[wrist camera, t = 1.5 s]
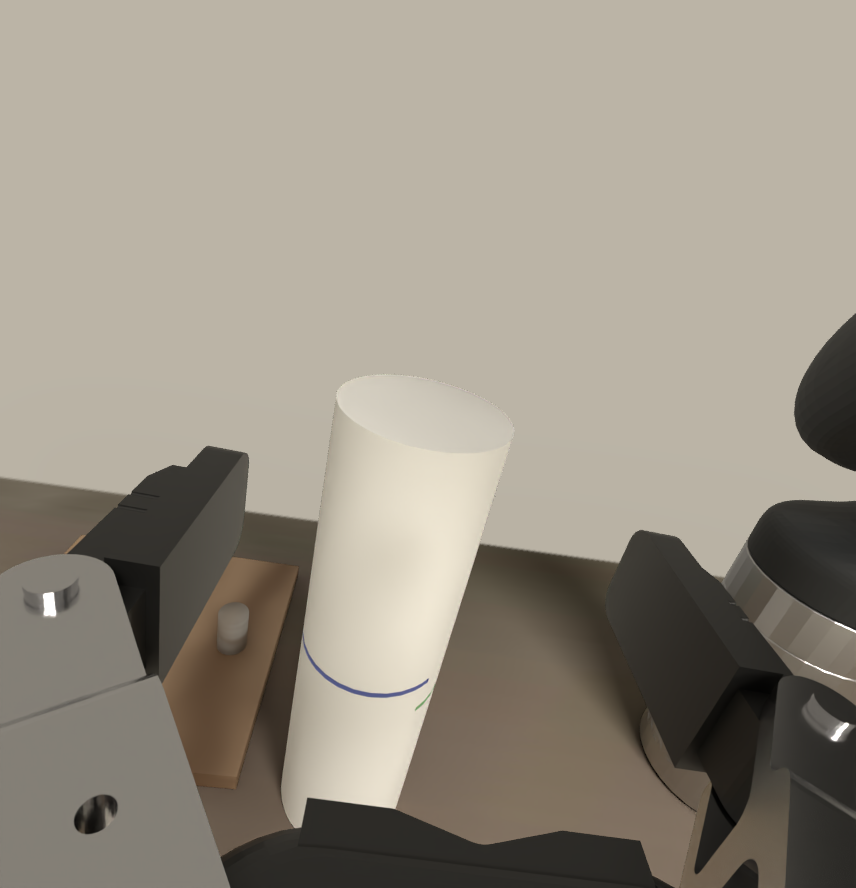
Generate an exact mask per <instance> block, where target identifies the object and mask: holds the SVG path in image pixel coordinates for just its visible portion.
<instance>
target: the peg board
mask: <svg viewBox="0 0 856 888" xmlns="http://www.w3.org/2000/svg"><path fill="white" fill-rule="evenodd" d="M84 537H85V535H81V536H80V537H79V538H78V539H77V541H76V542H75V543H74V544H73V545H72V546H71V547H70V548H69V549H68V550H67V551H66V552H65V553H64V554H67V553H68V552H69V551H70V550H71V549H72V548H74V547H75V546H76V545H77V544H78V543H79V542H80V541H81V540H82V539H83V538H84ZM298 569H299V566H293V565H286V564H279V563H272V562H265V561H258V560H251V559H244V558H237V557H232V558H231V560H230V562H229V564H228V565H227V567H226V569H225V571H224V573H223V574H222V576H221V578H220V580H219V582H218V583H217V585H216V587H215V589H214V591H213V592H212V594H211V596H210V598H209V600H208V602H207V603H206V605H205V607H204V609H203V611H202V612H201V614H200V616H199V618H198V620H197V621H196V623H195V625H194V627H193V629H192V630H191V632H190V634H189V636H188V638H187V640H186V641H185V643H184V645H183V647H182V649H181V650H180V652H179V654H178V656H177V658H176V659H175V661H174V663H173V665H172V667H171V669H170V670H169V672H168V674H167V676H166V678H165V679H164V681H163V683H162V686H163V688H164V691H165V694H166V697H167V700H168V703H169V706H170V709H171V712H172V715H173V718H174V721H175V724H176V727H177V730H178V733H179V736H180V739H181V742H182V745H183V748H184V751H185V754H186V757H187V760H188V763H189V766H190V769H191V772H192V775H193V777H194V780H195V783H196V786H206V787H217V788H227V789H236V787H237V784H238V780H239V777H240V773H241V770H242V766H243V763H244V760H245V756H246V753H247V749H248V746H249V742H250V739H251V735H252V732H253V729H254V725H255V722H256V718H257V715H258V711H259V708H260V704H261V701H262V698H263V694H264V691H265V687H266V684H267V680H268V677H269V673H270V670H271V666H272V663H273V660H274V656H275V653H276V649H277V646H278V642H279V639H280V635H281V632H282V629H283V625H284V622H285V618H286V615H287V611H288V608H289V604H290V601H291V598H292V594H293V591H294V587H295V584H296V580H297V577H298Z"/></svg>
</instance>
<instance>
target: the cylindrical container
mask: <svg viewBox="0 0 856 888" xmlns="http://www.w3.org/2000/svg"><path fill="white" fill-rule="evenodd" d="M513 436H514V426H513V424H512V422H511V420H510V419H509V417H508V416H507V415H506V414H505V413H504V412H503V411H502V410H501V409H499V408H498V407H497V406H495V405H494V404H492V403H491V402H489V401H487V400H486V399H484V398H482V397H480V396H478V395H476V394H474V393H472V392H469V391H466V390H464V389H461V388H459V387H456V386H453V385H450V384H446V383H443V382H439V381H435V380H430V379H426V378H420V377H414V376H406V375H392V374H391V375H390V374H386V375H385V374H381V375H369V376H363V377H358V378H355V379H352V380H349V381H348V382H346V383H345V384H343V385H341V387H340V388H339V390H338V391H337V395H336V402H335V410H334V416H333V423H332V431H331V437H330V444H329V451H328V458H327V466H326V472H325V479H324V486H323V493H322V500H321V506H320V513H319V520H318V528H317V535H316V542H315V549H314V556H313V563H312V570H311V577H310V585H309V592H308V599H307V606H306V613H305V620H304V627H303V634H302V641H301V648H300V655H299V662H298V669H297V676H296V683H295V690H294V697H293V704H292V711H291V718H290V725H289V732H288V739H287V746H286V754H285V761H284V768H283V775H282V783H281V796H282V803H283V807H284V810H285V813H286V815H287V817H288V819H289V821H290V823H291V824H292V825H293V827H294V828H299V827H301V826H302V821H303V816H304V811H305V806H306V802H307V797H308V798H316V799H324V800H331V801H339V802H346V803H354V804H362V805H369V806H377V807H385V808H392V809H395V808H396V805H397V802H398V799H399V796H400V793H401V790H402V787H403V783H404V780H405V777H406V774H407V771H408V768H409V765H410V762H411V758H412V755H413V752H414V749H415V746H416V743H417V740H418V736H419V733H420V730H421V727H422V724H423V721H424V718H425V714H426V711H427V708H428V705H429V702H430V699H431V696H432V692H433V689H434V686H435V683H436V680H437V677H438V674H439V670H440V667H441V664H442V661H443V658H444V655H445V651H446V648H447V645H448V642H449V639H450V636H451V632H452V629H453V626H454V623H455V620H456V617H457V613H458V610H459V607H460V604H461V601H462V598H463V594H464V591H465V588H466V585H467V582H468V579H469V575H470V572H471V569H472V566H473V563H474V559H475V556H476V553H477V550H478V547H479V544H480V540H481V537H482V534H483V531H484V528H485V525H486V521H487V518H488V515H489V512H490V509H491V505H492V502H493V499H494V496H495V492H496V490H497V487H498V483H499V480H500V477H501V474H502V471H503V468H504V464H505V461H506V458H507V454H508V452H509V449H510V445H511V442H512V439H513Z"/></svg>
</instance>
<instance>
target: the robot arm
mask: <svg viewBox="0 0 856 888" xmlns="http://www.w3.org/2000/svg"><path fill="white" fill-rule="evenodd" d="M794 415H795V422H796V427H797V429H798V431H799V434H800V436H801V438H802V439H803V440H804V442H805V443H806V444H807V445H808V446H809V447H810V448H811V449H812V450H813V451H815V452H817V453H818V454H820V455H822V456H823V457H825V458H826V459H828V460H830V461H832V462H833V463H835V464H838V465H840V466H842V467H844V468H847V469H850V470H853V471H856V314H855V315H853V316H852V317H851V318H850V319H849V320H848V321H847V322H846V323H845V324H844V325H843V326H842V327H841V328H840V329H839V330H838V331H837V332H836V333H835V334H834V335H833V336H832V337H831V338H830V339H829V340H828V341H827V342H826V344H825V345H824V346H823V348H822V349H821V350H820V352H819V353H818V354H817V355H816V357H815V358H814V360H813V362H812V363H811V365H810V366H809V368H808V370H807V371H806V373H805V375H804V377H803V379H802V381H801V383H800V386H799V388H798V392H797V395H796V400H795V411H794ZM248 468H249V457H248V454H247V453H243V452H238V451H233V450H227V449H223V448H217V447H212V446H206V447H205V448H204V449H203V450H202V451H201V452H200V453H199V454H198V455H197V457H196V458H195V459H194V460H193V461H192V462H191V463H190V464H189V465H188V466H187V467H181V466H175V465H172V466H169V467H167V468H165V469H162V470H160V471H158V472H155V473H153V474H151V475H149V476H147V477H146V478H145V479H144V480H143V481H142V482H141V483H140V484H139V485H138V486H137V487H136V488H135V489H134V490H133V491H132V493H131V495H129V494H128V495H127V496H126V497H125V498H124V499H123V500H122V501H121V502H120V503H119V504H118V507H117V508H114V509H113V510H112V511H111V512H110V513H109V514H108V515H107V516H106V517H105V518H104V519H103V520H102V521H100V522H99V523H98V524H97V525H96V526H95V527H94V528H93V529H92V530H91V531H90V532H89V533H88V534H87V535H86V536H85V537H84V538H83V539H82V540H81V541H80V542H79V543H78V544H77V545H76V546H75V547H74V548H72V549H71V550H70V551H69V552H68V553H67V554H61V555H51V556H45V557H41V558H36V559H33V560H30V561H27V562H24V563H21V564H19V565H16V566H14V567H12V568H10V569H8V570H7V571H5V572H3V573H2V574H0V888H674V887H672V886H670V885H669V884H667V883H665V882H663V881H661V880H660V879H658V878H656V877H654V876H652V874H651V871H650V868H649V865H648V863H647V860H646V857H645V854H644V851H643V848H642V845H641V842H640V841H636V840H629V839H621V838H613V837H606V836H598V835H591V834H583V833H575V832H568V831H558V832H553V833H548V834H543V835H537V836H532V837H527V838H521V839H516V840H511V841H506V842H500V843H495V844H489V845H481V844H476V843H473V842H471V841H468V840H466V839H463V838H461V837H459V836H456V835H454V834H452V833H449V832H447V831H445V830H442V829H440V828H438V827H435V826H433V825H431V824H428V823H426V822H423V821H421V820H419V819H416V818H414V817H412V816H409V815H407V814H405V813H402V812H400V811H398V810H395V809H392V808H385V807H377V806H369V805H362V804H354V803H346V802H339V801H331V800H324V799H316V798H308V797H307V802H306V806H305V811H304V816H303V821H302V826H301V827H299V828H294V829H288V830H283V831H279V832H276V833H272V834H269V835H266V836H263V837H260V838H257V839H255V840H253V841H250V842H248V843H246V844H244V845H241V846H239V847H237V848H235V849H233V850H232V851H230V852H228V853H227V854H225V855H223V856H222V857H220V855H219V852H218V849H217V846H216V843H215V840H214V837H213V834H212V831H211V828H210V825H209V822H208V819H207V816H206V813H205V810H204V807H203V804H202V801H201V798H200V795H199V792H198V789H197V786H196V783H195V780H194V777H193V775H192V772H191V769H190V766H189V763H188V760H187V757H186V754H185V751H184V748H183V745H182V742H181V739H180V736H179V733H178V730H177V727H176V724H175V721H174V718H173V715H172V712H171V709H170V706H169V703H168V700H167V697H166V694H165V691H164V688H163V686H162V683H163V681H164V679H165V678H166V676H167V674H168V672H169V670H170V669H171V667H172V665H173V663H174V661H175V659H176V658H177V656H178V654H179V652H180V650H181V649H182V647H183V645H184V643H185V641H186V640H187V638H188V636H189V634H190V632H191V630H192V629H193V627H194V625H195V623H196V621H197V620H198V618H199V616H200V614H201V612H202V611H203V609H204V607H205V605H206V603H207V602H208V600H209V598H210V596H211V594H212V592H213V591H214V589H215V587H216V585H217V583H218V582H219V580H220V578H221V576H222V574H223V573H224V571H225V569H226V567H227V565H228V564H229V562H230V560H231V558H232V556H233V554H234V553H235V551H236V548H237V546H238V543H239V540H240V536H241V533H242V528H243V522H244V512H245V501H246V489H247V478H248ZM605 606H606V614H607V618H608V620H609V622H610V625H611V627H612V629H613V631H614V634H615V636H616V638H617V640H618V642H619V645H620V647H621V649H622V651H623V654H624V656H625V658H626V660H627V663H628V665H629V667H630V669H631V672H632V674H633V676H634V678H635V680H636V683H637V685H638V687H639V689H640V692H641V694H642V696H643V698H644V701H645V703H646V705H647V708H646V710H645V712H644V714H643V716H642V717H641V722H640V738H641V742H642V745H643V748H644V751H645V753H646V755H647V757H648V759H649V761H650V763H651V765H652V767H653V768H654V770H655V771H656V772H657V774H658V775H659V777H660V778H661V779H662V781H663V782H664V783H665V784H666V785H667V786H668V787H669V788H670V790H671V791H672V792H673V793H674V794H676V795H677V796H678V797H679V798H680V799H681V800H682V801H683V802H685V803H686V804H687V805H688V806H690V807H691V808H693V809H694V810H696V811H697V814H696V818H695V822H694V826H693V831H692V835H691V839H690V843H689V848H688V852H687V856H686V861H685V865H684V869H683V873H682V878H681V882H680V886H679V888H856V501H848V502H832V501H810V500H792V501H785V502H781V503H778V504H775V505H774V506H772V507H770V508H769V509H768V510H767V511H766V512H765V513H764V514H763V515H762V517H761V518H760V519H759V521H758V523H757V524H756V526H755V528H754V529H753V531H752V533H751V534H750V536H749V538H748V540H747V541H746V543H745V544H744V546H743V548H742V549H741V551H740V553H739V554H738V556H737V558H736V560H735V561H734V563H733V564H732V566H731V568H730V569H729V571H728V573H727V574H726V576H725V578H724V580H723V581H722V583H720V582H719V581H718V580H717V579H715V578H714V577H713V576H712V575H710V574H709V573H708V572H707V571H706V570H704V569H703V568H702V567H701V566H700V565H699V563H698V562H697V561H696V559H695V558H694V557H693V556H692V554H691V553H690V552H689V551H688V549H687V548H686V547H685V545H684V544H683V543H682V541H681V540H680V539H679V538H677V537H675V536H670V535H665V534H659V533H654V532H649V531H644V530H639V531H637V532H636V533H635V534H634V535H633V536H632V538H631V540H630V541H629V543H628V546H627V548H626V550H625V552H624V554H623V557H622V559H621V561H620V563H619V565H618V567H617V570H616V572H615V574H614V576H613V578H612V581H611V583H610V585H609V587H608V590H607V594H606V603H605Z"/></svg>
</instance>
